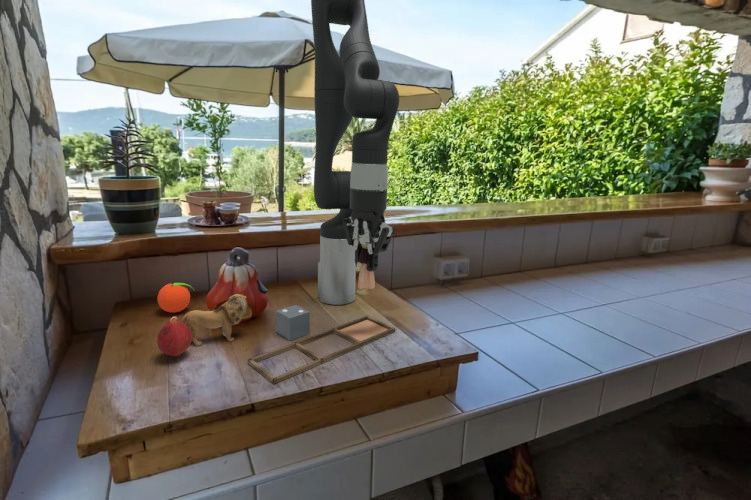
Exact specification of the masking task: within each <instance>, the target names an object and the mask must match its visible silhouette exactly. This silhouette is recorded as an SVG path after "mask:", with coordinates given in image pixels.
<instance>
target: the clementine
mask: <svg viewBox="0 0 751 500" xmlns="http://www.w3.org/2000/svg"><path fill="white" fill-rule="evenodd" d="M186 286H187V287H186ZM188 287H190V288H191V289H192V290H193V291H195V289H194V288H193V287H192V285H189V284H187V283H183V282H171V283H170V282H169V283H168V284H166V285H164V286H163V287H161V289H160V290H159V291H158V295H157V299H156V300H157V303H158V306H159V307H160V309H162V310H163V311H165V312H167V313H172V314H174V313H180V312H182V311H184V310H185V309H186V308H187V307H188V305H190V301H191V294H190V293H191V292H190V291H189V289H188Z"/></svg>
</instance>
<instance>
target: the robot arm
mask: <svg viewBox="0 0 751 500" xmlns="http://www.w3.org/2000/svg"><path fill="white" fill-rule="evenodd" d="M310 3H311V4H310V6H311V19H312V20H311V22H312V33H313V34H312V35H313V45H314V46H313V47H314V48H313V49H314V89H313V91H314V93H313V94H314V119H315V120H314V122H315V126H314V127H315V152H314V153H315V154H314V155H315V156H314V171H313V173H314V175H313V196H314V201H315V205H316V206H317V207H318V209H320V210H339V212H338V213H337V214H336V215H335V216H334V217H332V218H330V219H328V220H325V221H324V222H322V223H321V224H320V228H319V229H320V231H319V233H320V236H319V237H320V239H319V240H320V241H319V242H320V245H319V250H320V251H319V254H320V256H319V261H318V262H317V297H319V300H320V301H321V302H322V303H323V304H327V305H335V306H340V305H341V306H342V305H347V304H350V303H353V302H354V301H355V300H356V277H357V275H356V274H357V271H356V270H355V269H356V267H357V261H358V259H359V256H360V252H361V251H362V250H363V247H362V245H361V243H360V241H359V238H360V236H361V235H365V242H366V243H367V245H368V253H369V254H367V270H368V271H370V272H371V271H373V272H374V271H376V270H377V269H378V267H379V254H380V253H384V252H387V250H388V248H389V246H390V243H391V241H392V239H393V236H394V234H395V232H396V228H395V226H390V225H388V224H387V223H386V218H385V216H384V213H385V212H386V210H387V208H388V207H387V204H388V185H389V184H388V182H389V181H388V179H389V173H388V157H389V156H388V153H389V152H388V151H389V147H388V146H389V140H390V136H391V134H392V129H393V126H394V122H395V120H396V116H397V113H398V109H399V106H400V93H399V90H398V88H397V85H396V84H394V83H393V82H392V81H387V80H379V77H380V74H381V71H380V70H381V69H380V66H379V61H378V59H377V55H376V53H375V51H374V49H373V45H372V41H371V37H370V32H369V24H368V23H369V22H368V18H367V17H368V16H367V15H368V14H367V9H366V4H365V0H310ZM330 24H333V25H339V26H349V28H348V29H347V31H346V32H345V34H343V37H342V38H341V40H340V41H341V42H340V44H339V50H338V51H337V49H336V46H335V44H334V41H333V37H332V33H331V27H330ZM338 52H339V53H338ZM353 118H355V119H365V120H366V119H368V120H370V119H371V120H375V124H374V125H373V127H372V128H371V129H369V130H364V131H359V132H356V133H354V135H353V136H352V141H351V145H352V146H351V168H350V170H333V161H334V156H335V152H336V150H337V147H338V145H339V143H340V140H341V139H343V136H344V135H345V133H346V131H347V129H348V128H349V126H350V124H351V122H352V121H353ZM374 236H375V237H374ZM371 237H374V238H371ZM373 243H374V245H373Z"/></svg>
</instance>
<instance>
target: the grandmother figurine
mask: <svg viewBox="0 0 751 500" xmlns="http://www.w3.org/2000/svg"><path fill="white" fill-rule="evenodd" d="M374 237H375V236H374ZM374 237H371V238H374ZM359 241H360V243H361V245H362V247H363V250H362V251H361V252H360V256H359V259H358V261H357V267H356V269H355V270H356V273H357V272H359V274H358V282H357V283H358V284H357V288H358V289H357V290H356V293H357V294H359V295H364V296H366V295H369V294H370V292H372V291H374V289H375V287H376V281H375V273H374V271H371V272H370V271H368V270H367V254H369V253H368V245H367V243H366V242H365V235H361V236H360V238H359ZM373 246H374V243H373Z"/></svg>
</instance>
